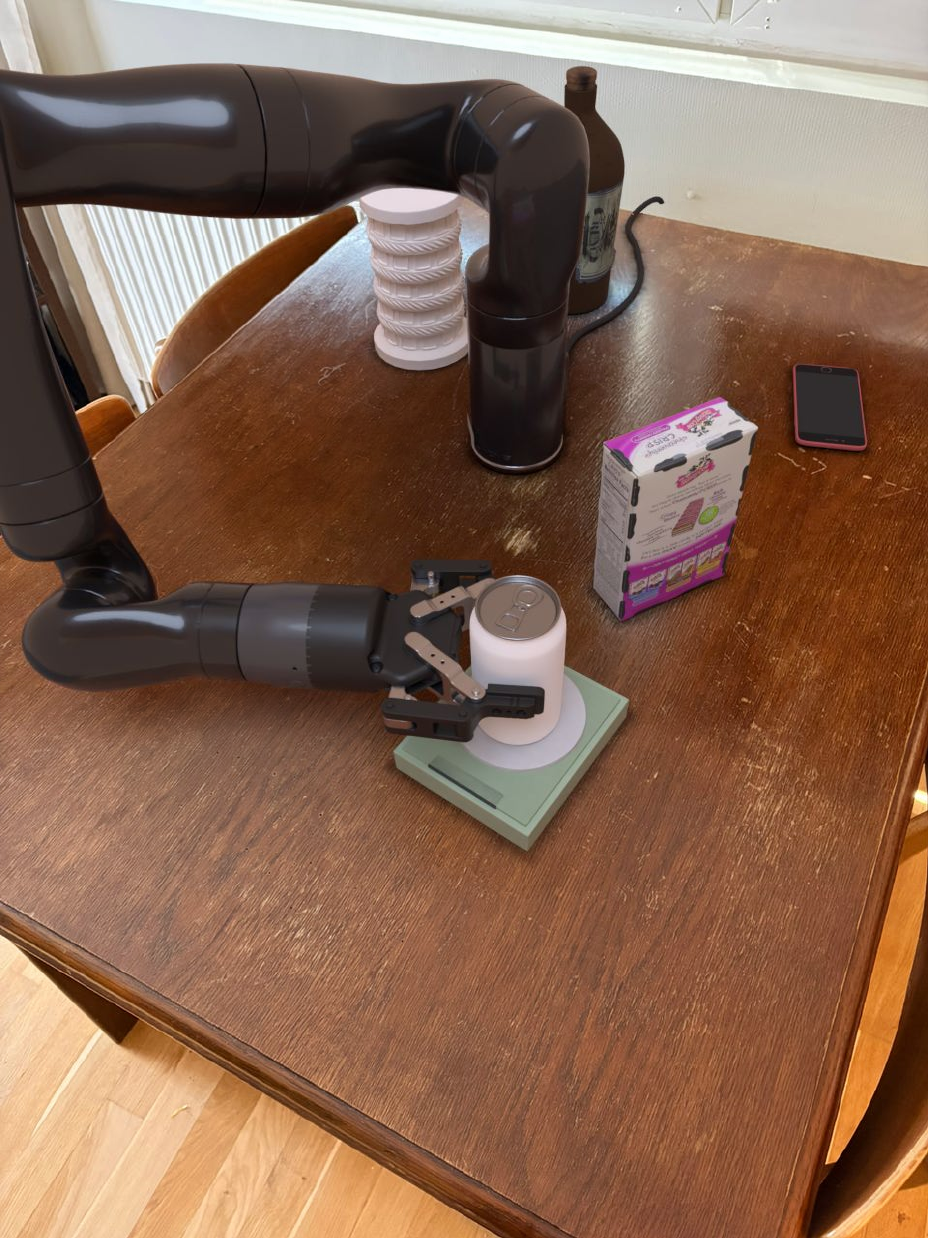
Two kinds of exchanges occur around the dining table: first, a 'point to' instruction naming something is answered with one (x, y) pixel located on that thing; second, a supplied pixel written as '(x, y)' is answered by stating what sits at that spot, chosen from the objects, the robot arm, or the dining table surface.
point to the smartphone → (828, 407)
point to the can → (519, 650)
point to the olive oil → (595, 195)
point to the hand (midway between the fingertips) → (547, 650)
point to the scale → (519, 763)
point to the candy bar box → (669, 505)
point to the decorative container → (417, 276)
